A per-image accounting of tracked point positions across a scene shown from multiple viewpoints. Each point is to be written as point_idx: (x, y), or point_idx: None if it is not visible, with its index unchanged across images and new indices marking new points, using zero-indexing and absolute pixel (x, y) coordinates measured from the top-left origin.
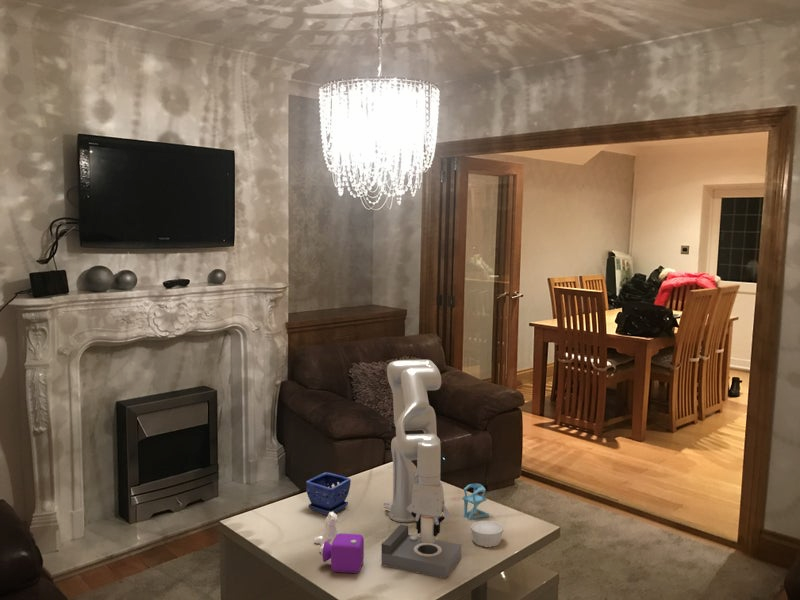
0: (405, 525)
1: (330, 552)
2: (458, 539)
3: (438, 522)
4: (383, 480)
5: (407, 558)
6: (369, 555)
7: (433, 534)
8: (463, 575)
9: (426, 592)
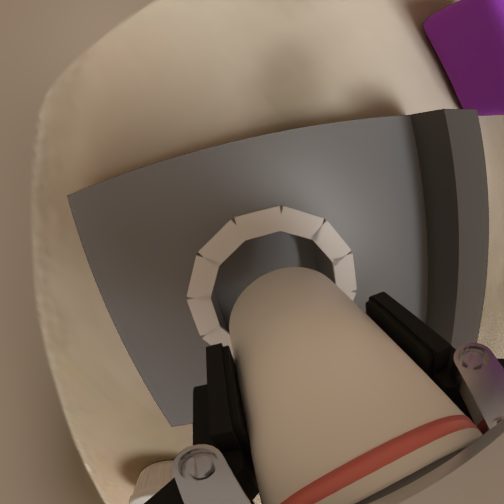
0: None
1: None
2: None
3: (179, 477)
4: None
5: (317, 125)
6: None
7: (237, 355)
8: (61, 268)
9: (108, 40)
